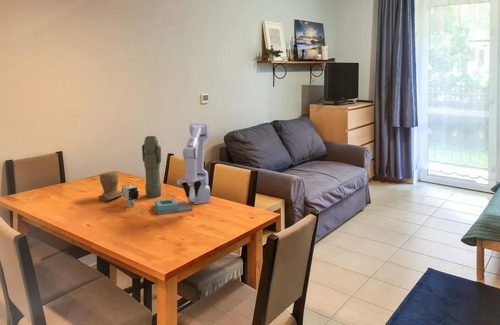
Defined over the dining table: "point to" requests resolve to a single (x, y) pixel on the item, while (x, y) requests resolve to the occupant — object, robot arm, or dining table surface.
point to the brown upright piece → (109, 186)
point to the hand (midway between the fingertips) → (191, 196)
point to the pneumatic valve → (130, 194)
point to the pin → (191, 193)
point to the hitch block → (170, 206)
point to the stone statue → (152, 166)
